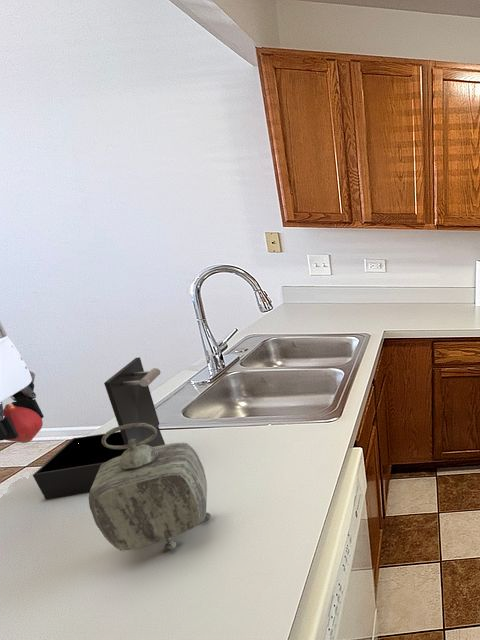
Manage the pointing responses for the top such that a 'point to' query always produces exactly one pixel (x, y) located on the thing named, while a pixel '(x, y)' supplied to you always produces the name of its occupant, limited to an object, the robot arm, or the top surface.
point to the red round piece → (23, 422)
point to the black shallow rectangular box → (80, 464)
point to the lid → (133, 399)
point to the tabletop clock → (148, 493)
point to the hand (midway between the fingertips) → (19, 428)
